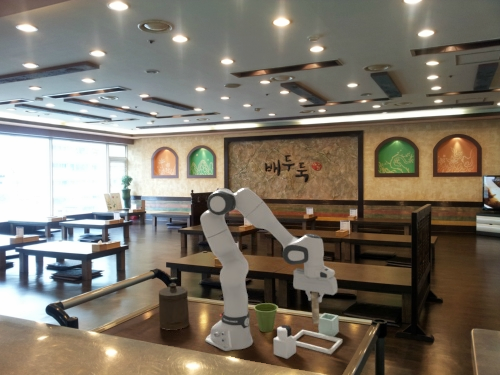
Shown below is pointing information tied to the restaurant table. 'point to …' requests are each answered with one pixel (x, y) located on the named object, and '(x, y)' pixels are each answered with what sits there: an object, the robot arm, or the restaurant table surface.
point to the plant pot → (266, 316)
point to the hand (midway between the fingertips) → (315, 300)
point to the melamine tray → (324, 350)
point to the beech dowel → (315, 308)
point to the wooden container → (173, 307)
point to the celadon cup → (328, 324)
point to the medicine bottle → (284, 342)
